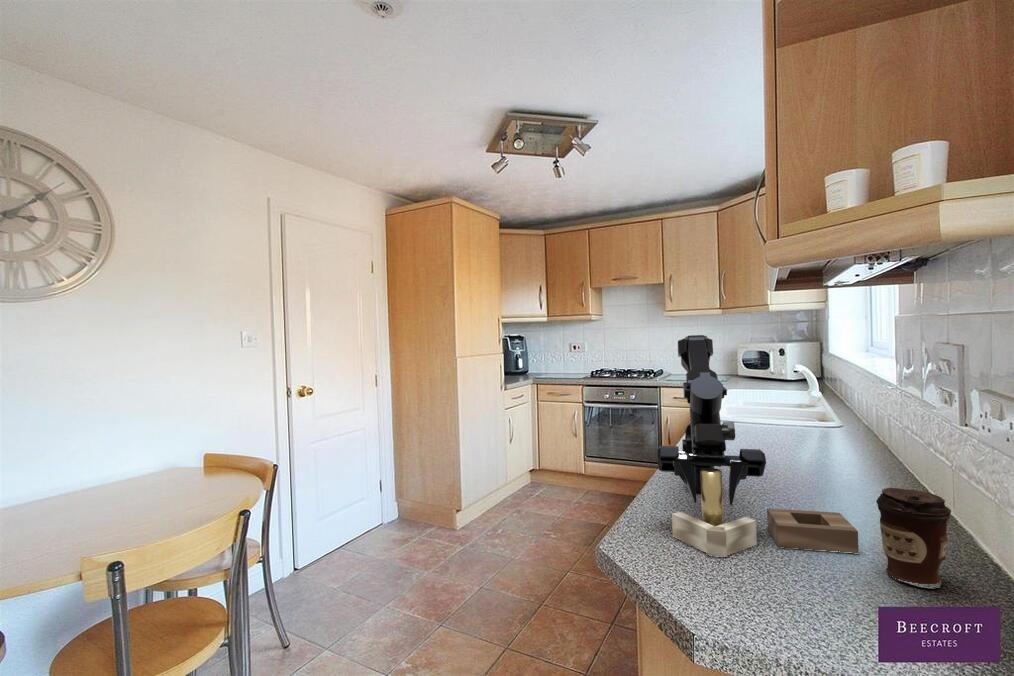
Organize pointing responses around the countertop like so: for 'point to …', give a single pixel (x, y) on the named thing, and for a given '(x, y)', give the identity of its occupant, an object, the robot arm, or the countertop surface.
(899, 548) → the coffee cup
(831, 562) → the countertop surface
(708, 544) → the v block
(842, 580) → the countertop surface
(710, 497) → the axle
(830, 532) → the bore block
